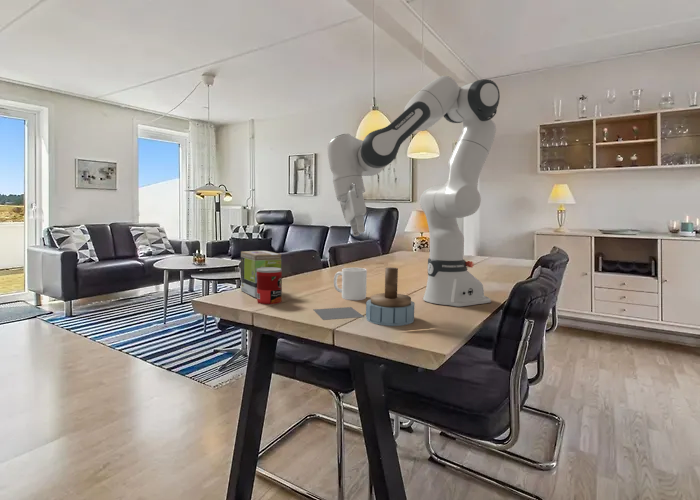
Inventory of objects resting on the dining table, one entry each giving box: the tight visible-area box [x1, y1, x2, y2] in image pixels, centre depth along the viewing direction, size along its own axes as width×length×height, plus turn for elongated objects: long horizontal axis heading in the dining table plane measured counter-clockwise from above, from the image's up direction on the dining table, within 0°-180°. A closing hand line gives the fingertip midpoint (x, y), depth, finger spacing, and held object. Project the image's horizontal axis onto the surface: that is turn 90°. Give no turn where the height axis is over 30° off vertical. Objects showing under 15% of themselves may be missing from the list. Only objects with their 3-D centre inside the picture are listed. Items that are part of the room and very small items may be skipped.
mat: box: [313, 306, 365, 321], centre depth 121 cm, size 12×12×1 cm
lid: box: [370, 267, 412, 307], centre depth 114 cm, size 11×11×10 cm
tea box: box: [240, 250, 282, 299], centre depth 149 cm, size 15×10×15 cm, turn 33°
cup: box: [333, 267, 368, 301], centre depth 143 cm, size 8×12×10 cm
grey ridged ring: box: [365, 298, 416, 327], centre depth 115 cm, size 13×13×5 cm
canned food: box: [256, 267, 283, 305], centre depth 134 cm, size 8×8×11 cm
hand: (359, 234), depth 125 cm, fingers open, 8 cm apart
